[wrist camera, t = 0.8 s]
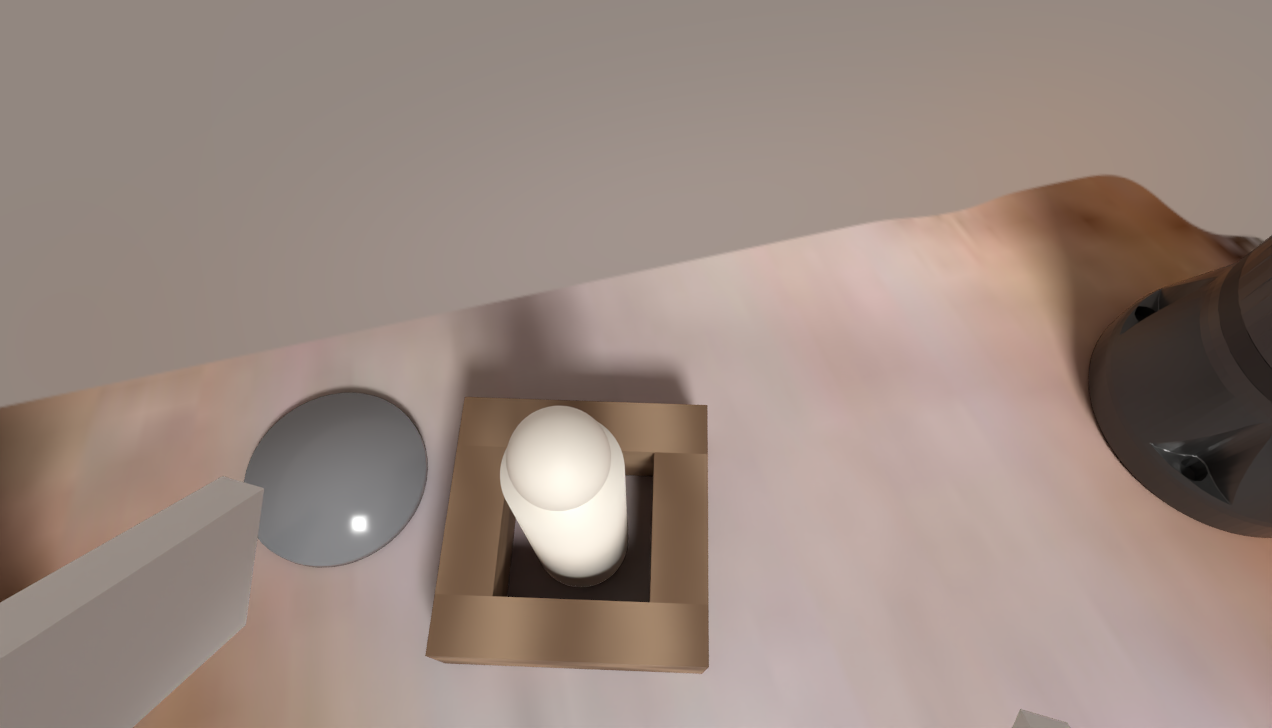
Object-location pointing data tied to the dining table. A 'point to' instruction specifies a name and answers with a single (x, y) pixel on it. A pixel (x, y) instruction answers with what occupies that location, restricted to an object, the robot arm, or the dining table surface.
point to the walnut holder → (567, 628)
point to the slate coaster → (337, 479)
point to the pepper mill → (568, 493)
